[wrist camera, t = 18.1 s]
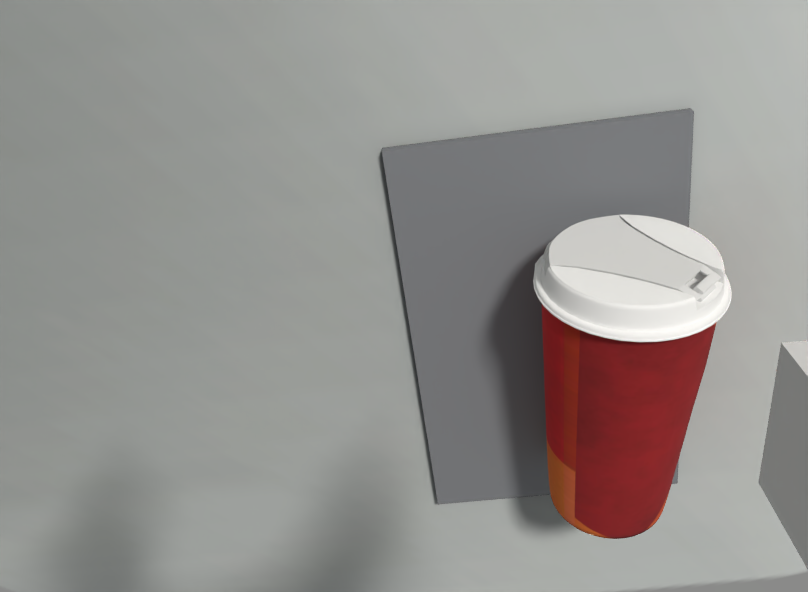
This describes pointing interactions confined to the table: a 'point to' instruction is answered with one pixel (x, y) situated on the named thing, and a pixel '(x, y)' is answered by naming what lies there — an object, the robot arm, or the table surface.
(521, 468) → the mat
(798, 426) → the robot arm
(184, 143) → the table surface
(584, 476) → the coffee cup
